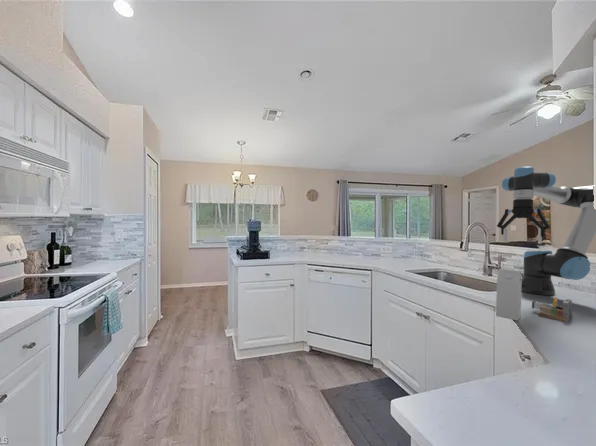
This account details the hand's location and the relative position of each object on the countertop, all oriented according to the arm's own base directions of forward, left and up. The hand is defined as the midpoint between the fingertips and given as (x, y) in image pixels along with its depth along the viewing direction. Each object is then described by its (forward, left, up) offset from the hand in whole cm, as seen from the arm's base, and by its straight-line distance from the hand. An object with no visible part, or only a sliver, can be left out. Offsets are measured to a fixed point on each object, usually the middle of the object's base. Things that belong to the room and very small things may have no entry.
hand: (521, 242), depth 135 cm
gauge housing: (+14, +15, -29) cm, 35 cm away
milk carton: (+32, +4, -29) cm, 43 cm away
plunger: (+14, +12, -27) cm, 33 cm away
